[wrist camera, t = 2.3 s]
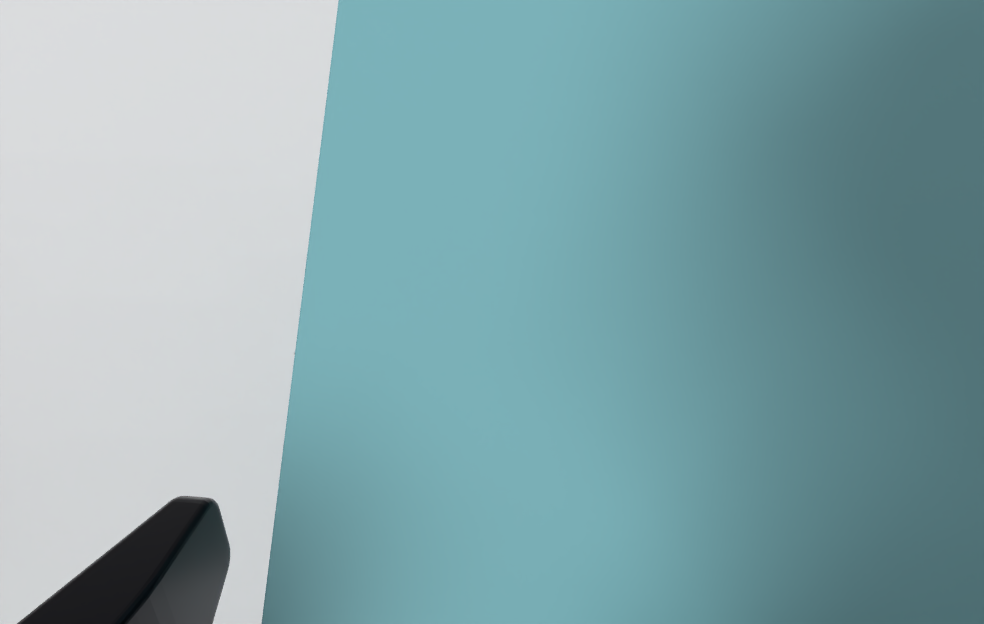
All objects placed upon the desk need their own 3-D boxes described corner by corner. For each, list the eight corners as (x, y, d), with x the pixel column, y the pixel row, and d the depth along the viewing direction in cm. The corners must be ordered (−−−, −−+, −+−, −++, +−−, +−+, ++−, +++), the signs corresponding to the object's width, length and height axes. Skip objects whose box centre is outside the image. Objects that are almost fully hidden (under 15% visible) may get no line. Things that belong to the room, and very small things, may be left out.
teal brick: (726, 570, 18) (1078, 774, 6) (448, 546, 18) (253, 686, 6) (732, 297, 19) (1039, 0, 7) (471, 281, 19) (341, -19, 7)
